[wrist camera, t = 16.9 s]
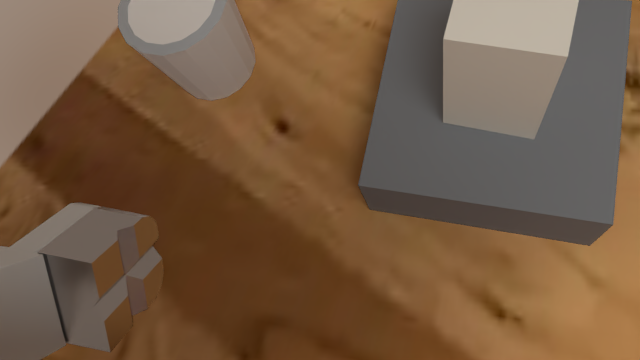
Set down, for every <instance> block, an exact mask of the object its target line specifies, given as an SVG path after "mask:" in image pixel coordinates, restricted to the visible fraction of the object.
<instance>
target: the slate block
mask: <svg viewBox="0 0 640 360" xmlns="http://www.w3.org/2000/svg"><path fill="white" fill-rule="evenodd" d="M452 4H453V0H398V2H397V7H396V12H395V16H394V21H393V26H392V30H391V35H390V40H389V44H388V49H387V54H386V58H385V63H384V68H383V72H382V77H381V82H380V86H379V91H378V95H377V100H376V105H375V109H374V114H373V119H372V123H371V128H370V133H369V137H368V142H367V147H366V151H365V156H364V161H363V165H362V170H361V175H360V179H359V184H358V186H359V188H360V190H361V192H362V194H363V196H364V198H365V201H366V203H367V205H368V207H369V209H370V210H376V211H382V212H388V213H394V214H400V215H406V216H412V217H418V218H424V219H431V220H437V221H443V222H449V223H455V224H461V225H467V226H473V227H479V228H485V229H491V230H497V231H503V232H509V233H516V234H522V235H528V236H534V237H540V238H546V239H552V240H558V241H564V242H570V243H576V244H582V245H588V246H590V245H591V244H592V243H593V242H594V241H596V240H597V239H598V238H599V237H600V236H601V235H602V234H603V233H604V232H606V231H607V230H608V229H609V228H610V227H611V226H612V225H613V220H614V208H615V196H616V184H617V172H618V160H619V148H620V136H621V124H622V113H623V101H624V89H625V77H626V65H627V53H628V41H629V29H630V17H631V5H632V1H627V0H579V2H578V7H577V12H576V17H575V22H574V27H573V32H572V38H571V43H570V48H569V53H568V57H567V60H566V62H565V65H564V67H563V70H562V72H561V75H560V77H559V80H558V82H557V84H556V87H555V89H554V92H553V94H552V97H551V99H550V102H549V104H548V107H547V109H546V112H545V114H544V116H543V119H542V121H541V124H540V126H539V129H538V131H537V134H536V136H535V139H529V138H524V137H518V136H513V135H507V134H502V133H497V132H491V131H486V130H480V129H475V128H469V127H464V126H458V125H453V124H448V123H443V38H444V34H445V30H446V27H447V23H448V19H449V15H450V11H451V7H452Z"/></svg>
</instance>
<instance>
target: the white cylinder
mask: <svg viewBox="0 0 640 360" xmlns="http://www.w3.org/2000/svg"><path fill="white" fill-rule="evenodd" d="M118 27H119V29H120V31H121V33H122V35H123V37H124V39H125V41H126V43H128V44H129V45H130V46H131V47H132V48H134V49H135V50H136V51H137V52H139V53H140V54H141V55H142V56H144V57H145V58H146V59H147V60H149V61H150V62H151V63H152V64H153V65H155V66H156V67H157V68H158V69H160V70H161V71H162V72H163V73H165V74H166V75H167V76H168V77H170V78H171V79H172V80H173V81H174V82H176V83H177V84H178V85H179V86H181V87H182V88H183V89H184V90H186V91H187V92H188V93H190V94H191V95H193V96H194V97H196V98H198V99H204V100H211V101H212V100H217V99H221V98H226V97H228V96H230V95H231V94H233V93H234V92H236V91H238V90H239V89H241V88H242V86H243V85H244V84H245V83H246V81H247V80H248V79H249V78H250V76H251V74H252V71H253V68H254V65H255V62H256V61H255V51H254V46H253V44H252V41H251V39H250V37H249V34H248V32H247V29H246V27H245V25H244V22H243V20H242V17H241V15H240V12H239V10H238V8H237V5H236V3H235V0H121V2H120V4H119V6H118Z"/></svg>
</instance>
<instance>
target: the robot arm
mask: <svg viewBox="0 0 640 360" xmlns="http://www.w3.org/2000/svg"><path fill="white" fill-rule="evenodd" d="M158 239H159V234H158V228H157V223H156V221H155V220H154V219H153V218H152V217H150V216H147V215H142V214H137V213H132V212H127V211H122V210H117V209H112V208H107V207H100V206H97V205H91V204H85V203H70V204H69V205H67V206H66V207H65V208H63V209H62V210H60V211H59V212H58V213H56V214H55V215H54V216H52V217H51V218H49V219H48V220H47V221H45V222H44V223H42V224H41V225H40V226H38V227H37V228H35V229H34V230H33V231H31V232H30V233H28V234H27V235H26V236H24V237H23V238H21V239H20V240H19V241H17V242H16V243H14V244H13V245H12V246H10V247H4V246H0V360H41V359H42V358H44V357H46V356H48V355H50V354H51V353H53V352H55V351H57V350H59V349H60V348H62V347H64V346H66V343H69V344H74V345H79V346H83V347H88V348H93V349H97V350H102V351H107V352H111V351H112V350H113V349H114V348H115V346H116V345H117V344H118V343H119V342H120V341H121V339H122V338H123V337H124V336H125V335H126V334H127V332H128V331H129V330H130V329H131V328H132V327H133V315H135V314H137V313H139V312H142V311H144V310H146V309H148V308H149V306H150V305H151V304H152V303H153V301H154V300H155V299H156V298H157V295H158V293H159V290H160V288H161V285H162V282H163V272H164V269H163V261H162V258H161V256H160V255H159V254H158V252H157V251H156V250H155V248H154V247H153V246H154V244H155V243H156V242H157V240H158Z"/></svg>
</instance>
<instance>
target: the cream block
mask: <svg viewBox="0 0 640 360" xmlns="http://www.w3.org/2000/svg"><path fill="white" fill-rule="evenodd" d="M578 2H579V0H453V4H452V7H451V11H450V15H449V19H448V23H447V27H446V30H445V34H444V38H443V123H448V124H453V125H458V126H464V127H469V128H475V129H480V130H486V131H491V132H497V133H502V134H507V135H513V136H518V137H524V138H529V139H535V136H536V134H537V131H538V129H539V126H540V124H541V121H542V119H543V116H544V114H545V112H546V109H547V107H548V104H549V102H550V99H551V97H552V94H553V92H554V89H555V87H556V84H557V82H558V80H559V77H560V75H561V72H562V70H563V67H564V65H565V62H566V60H567V57H568V53H569V48H570V43H571V38H572V32H573V27H574V22H575V17H576V12H577V7H578Z"/></svg>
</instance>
